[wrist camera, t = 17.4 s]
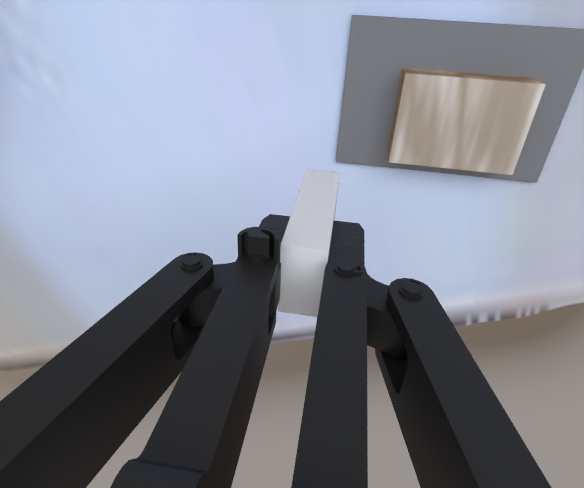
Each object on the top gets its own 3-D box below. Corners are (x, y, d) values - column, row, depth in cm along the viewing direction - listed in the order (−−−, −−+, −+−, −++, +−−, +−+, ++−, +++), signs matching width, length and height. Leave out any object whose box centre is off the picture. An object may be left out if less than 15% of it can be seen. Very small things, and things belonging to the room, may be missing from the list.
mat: (336, 159, 38) (335, 161, 37) (352, 14, 31) (352, 15, 31) (534, 179, 36) (536, 182, 35) (594, 29, 29) (598, 30, 29)
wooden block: (388, 162, 33) (512, 175, 32) (405, 73, 30) (545, 84, 29) (387, 151, 36) (501, 162, 35) (402, 68, 32) (531, 77, 31)
